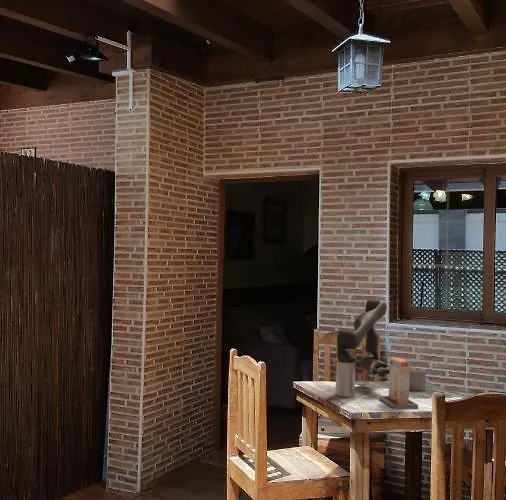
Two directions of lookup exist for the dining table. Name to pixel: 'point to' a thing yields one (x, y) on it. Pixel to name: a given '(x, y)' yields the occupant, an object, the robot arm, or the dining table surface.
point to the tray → (394, 405)
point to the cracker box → (399, 380)
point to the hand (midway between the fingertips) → (389, 373)
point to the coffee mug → (417, 379)
